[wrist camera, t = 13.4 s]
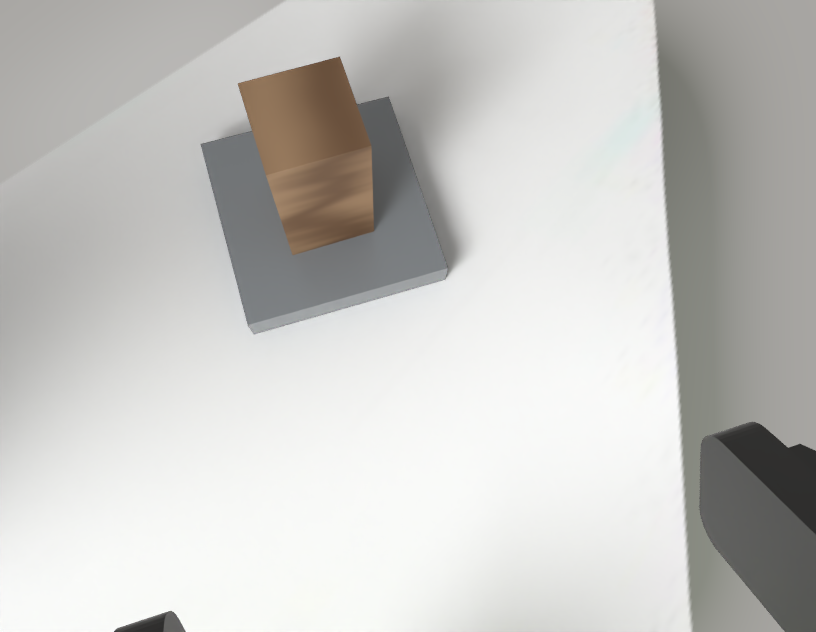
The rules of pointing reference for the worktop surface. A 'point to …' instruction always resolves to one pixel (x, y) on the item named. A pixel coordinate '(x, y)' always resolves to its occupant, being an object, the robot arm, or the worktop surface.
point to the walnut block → (313, 153)
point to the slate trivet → (332, 264)
